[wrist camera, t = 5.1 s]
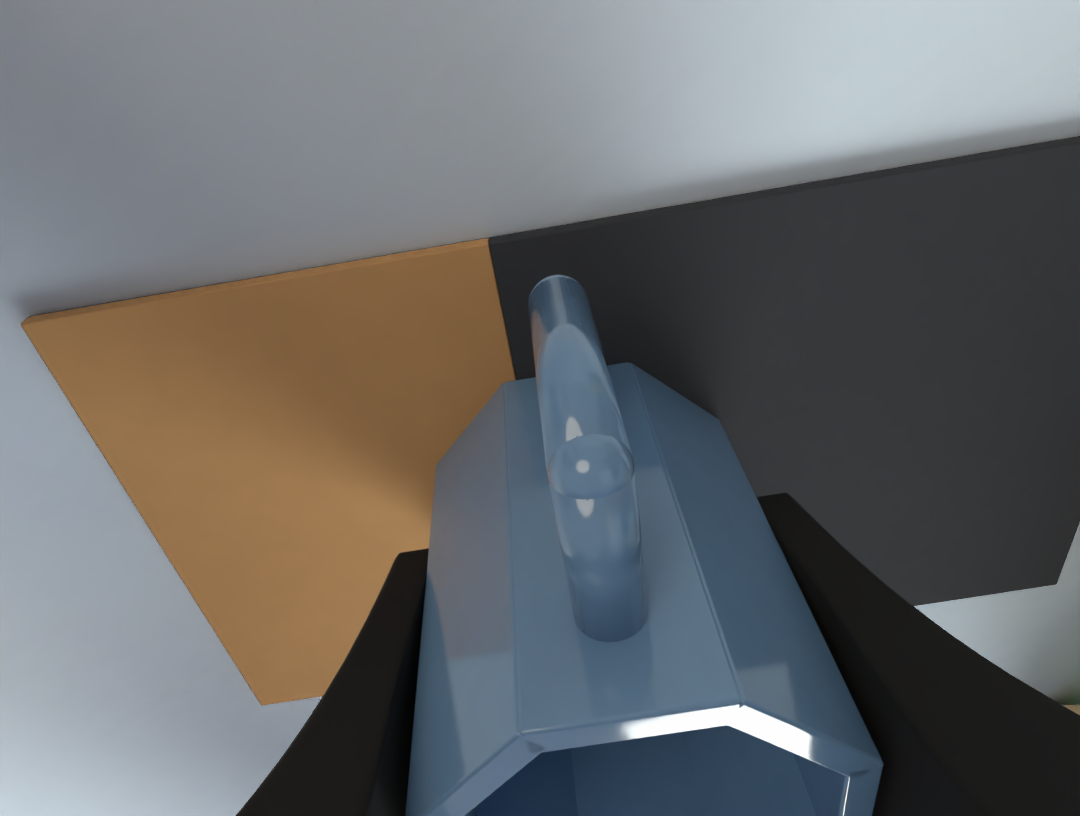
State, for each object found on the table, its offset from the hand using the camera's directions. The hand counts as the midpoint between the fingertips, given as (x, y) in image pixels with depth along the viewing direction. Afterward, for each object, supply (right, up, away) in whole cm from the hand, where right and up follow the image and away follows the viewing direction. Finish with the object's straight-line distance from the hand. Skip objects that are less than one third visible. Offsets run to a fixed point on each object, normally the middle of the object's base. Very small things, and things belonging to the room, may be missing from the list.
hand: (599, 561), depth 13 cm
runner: (+1, +2, +2) cm, 3 cm away
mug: (0, +2, +1) cm, 2 cm away
